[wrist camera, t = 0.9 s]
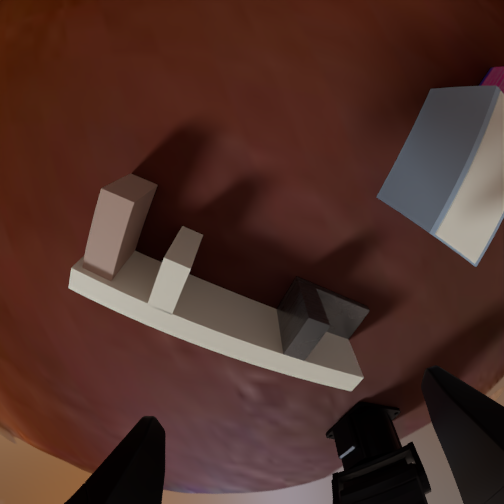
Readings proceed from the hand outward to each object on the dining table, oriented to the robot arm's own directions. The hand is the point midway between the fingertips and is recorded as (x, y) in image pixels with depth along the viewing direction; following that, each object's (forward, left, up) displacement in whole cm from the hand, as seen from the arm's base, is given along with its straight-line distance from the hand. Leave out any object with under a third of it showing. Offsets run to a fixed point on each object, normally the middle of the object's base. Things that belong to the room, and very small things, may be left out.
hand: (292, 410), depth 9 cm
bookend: (-6, +3, -13) cm, 15 cm away
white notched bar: (+1, +2, -13) cm, 13 cm away
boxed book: (-7, -11, -13) cm, 19 cm away
